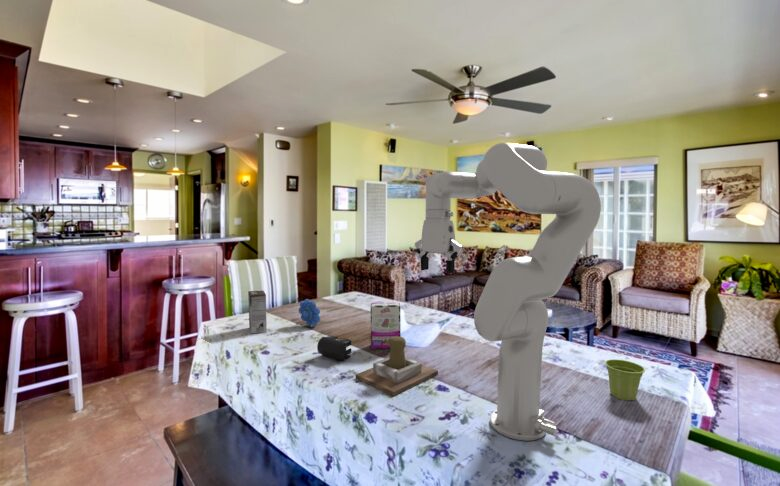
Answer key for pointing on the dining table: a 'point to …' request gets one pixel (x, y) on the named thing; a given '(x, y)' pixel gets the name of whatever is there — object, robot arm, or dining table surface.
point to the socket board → (396, 376)
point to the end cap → (334, 347)
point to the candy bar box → (384, 324)
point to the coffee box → (257, 311)
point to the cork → (397, 353)
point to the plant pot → (624, 378)
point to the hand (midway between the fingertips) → (436, 271)
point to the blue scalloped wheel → (309, 312)
